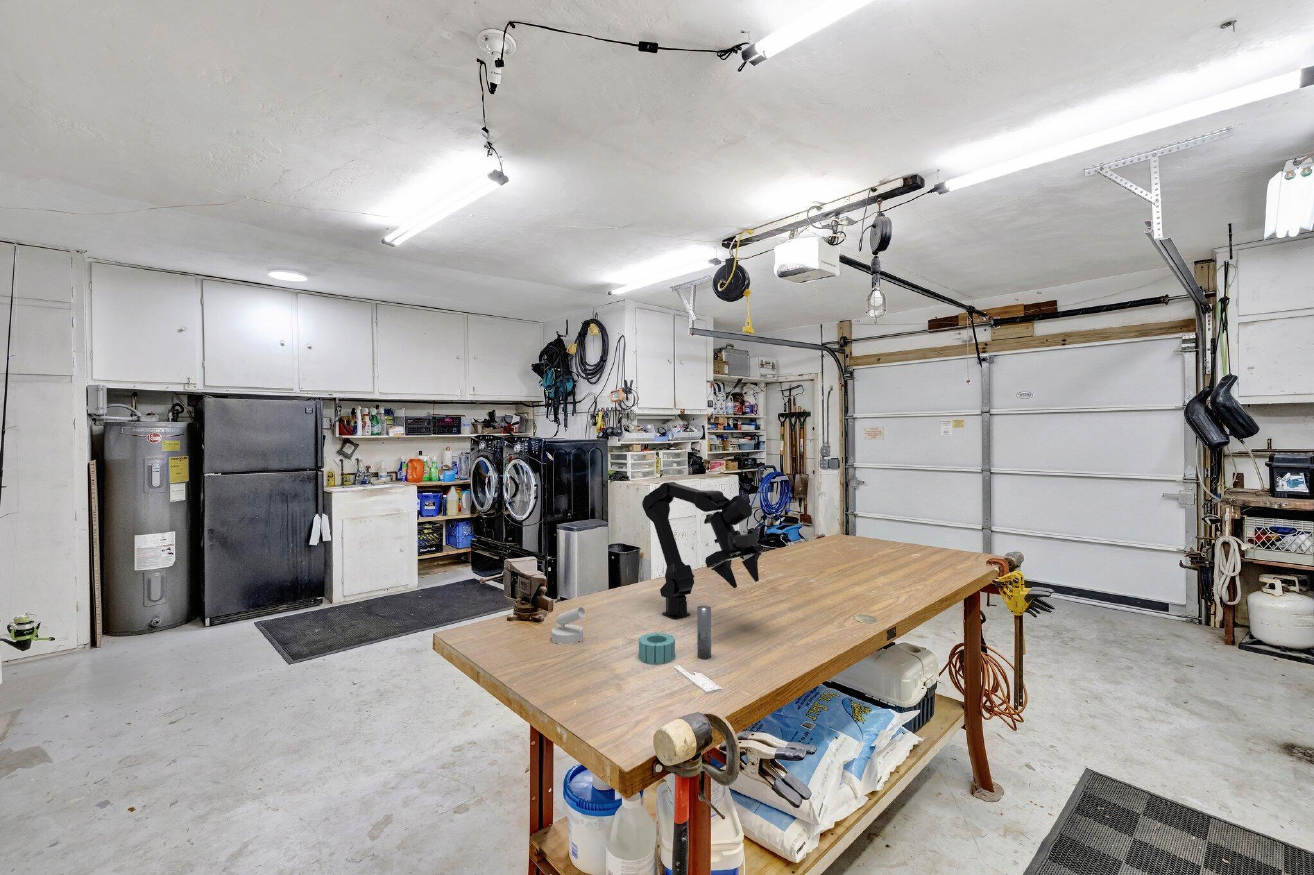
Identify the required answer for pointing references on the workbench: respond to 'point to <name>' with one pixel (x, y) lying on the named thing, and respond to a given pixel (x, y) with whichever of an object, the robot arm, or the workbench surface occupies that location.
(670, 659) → the teal notched ring
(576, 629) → the wall hook
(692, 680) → the butcher knife
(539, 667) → the workbench surface
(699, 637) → the shiny metal cylinder
